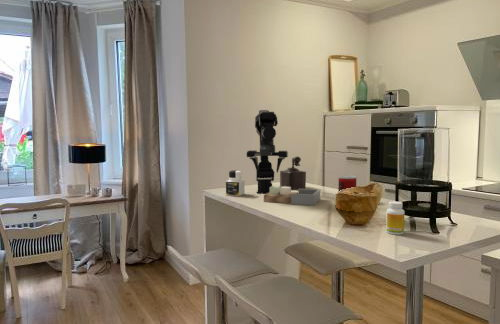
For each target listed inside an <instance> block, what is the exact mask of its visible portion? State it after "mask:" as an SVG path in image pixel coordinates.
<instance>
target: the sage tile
mask: <svg viewBox="0 0 500 324" xmlns="http://www.w3.org/2000/svg"><path fill="white" fill-rule="evenodd" d="M279 193H280V185H279V186H277V185H276V186H275V185H272V186H271V187H270V194H279Z"/></svg>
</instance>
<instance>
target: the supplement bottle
mask: <svg viewBox="0 0 500 324" xmlns="http://www.w3.org/2000/svg"><path fill="white" fill-rule="evenodd" d="M388 207H389V208H387V209H386V212H385V214H386V217H385V218H386V220H385V232H386V233H387V234H389V235H390V234H391V235H396V236H397V235H399V236H400V235H403V234H405V216H406V215H405V214H406V213H405V212H406V211H405V209H403V202H401V201H394V200H393V201H389V202H388Z"/></svg>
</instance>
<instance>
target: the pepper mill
mask: <svg viewBox="0 0 500 324" xmlns="http://www.w3.org/2000/svg"><path fill="white" fill-rule="evenodd" d="M301 161H302V159H301V156H295V157H292V159H291V164H292V165H291V167H287V169H284V170H279V186H280V188H281V187H291V191H292V190H293V191H294V190H298V189H304V188H305V189H307V188H306V186H307V184H306V183H307V182H306V181H307V171H303V170H300V169H299V168H297V167H300V166H301V164H300V162H301Z"/></svg>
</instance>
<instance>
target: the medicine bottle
mask: <svg viewBox="0 0 500 324" xmlns="http://www.w3.org/2000/svg"><path fill="white" fill-rule="evenodd" d="M228 176H229V177H228V180H226V181H225V195H226V196H230V197H231V196H232V197H241V196H243V195H244V194H245V191H246V190H245V179H242V171H241V170H236V169H235V170H229V172H228Z"/></svg>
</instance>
